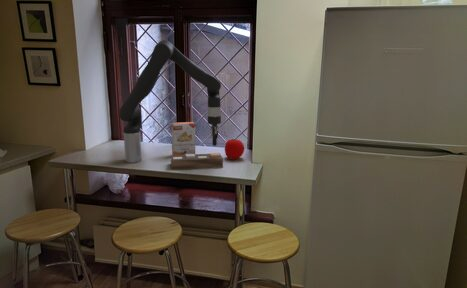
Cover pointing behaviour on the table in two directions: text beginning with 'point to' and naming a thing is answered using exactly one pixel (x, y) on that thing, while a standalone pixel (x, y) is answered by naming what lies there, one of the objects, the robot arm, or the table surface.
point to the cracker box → (183, 138)
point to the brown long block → (196, 162)
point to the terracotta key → (214, 155)
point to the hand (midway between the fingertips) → (214, 145)
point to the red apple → (234, 149)
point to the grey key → (190, 156)
